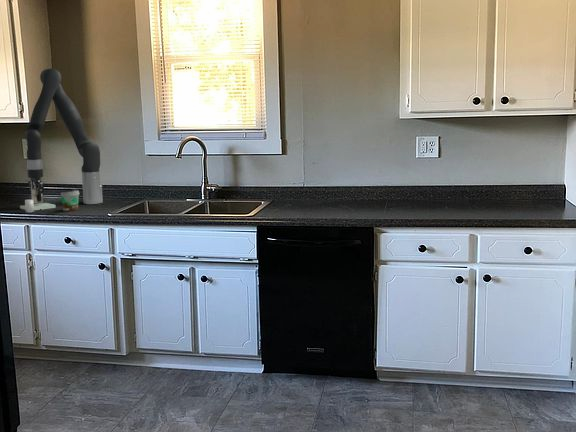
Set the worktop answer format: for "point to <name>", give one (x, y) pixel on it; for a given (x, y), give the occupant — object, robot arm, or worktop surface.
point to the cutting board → (40, 206)
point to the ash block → (35, 196)
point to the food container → (70, 200)
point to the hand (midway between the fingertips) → (37, 200)
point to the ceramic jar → (29, 205)
